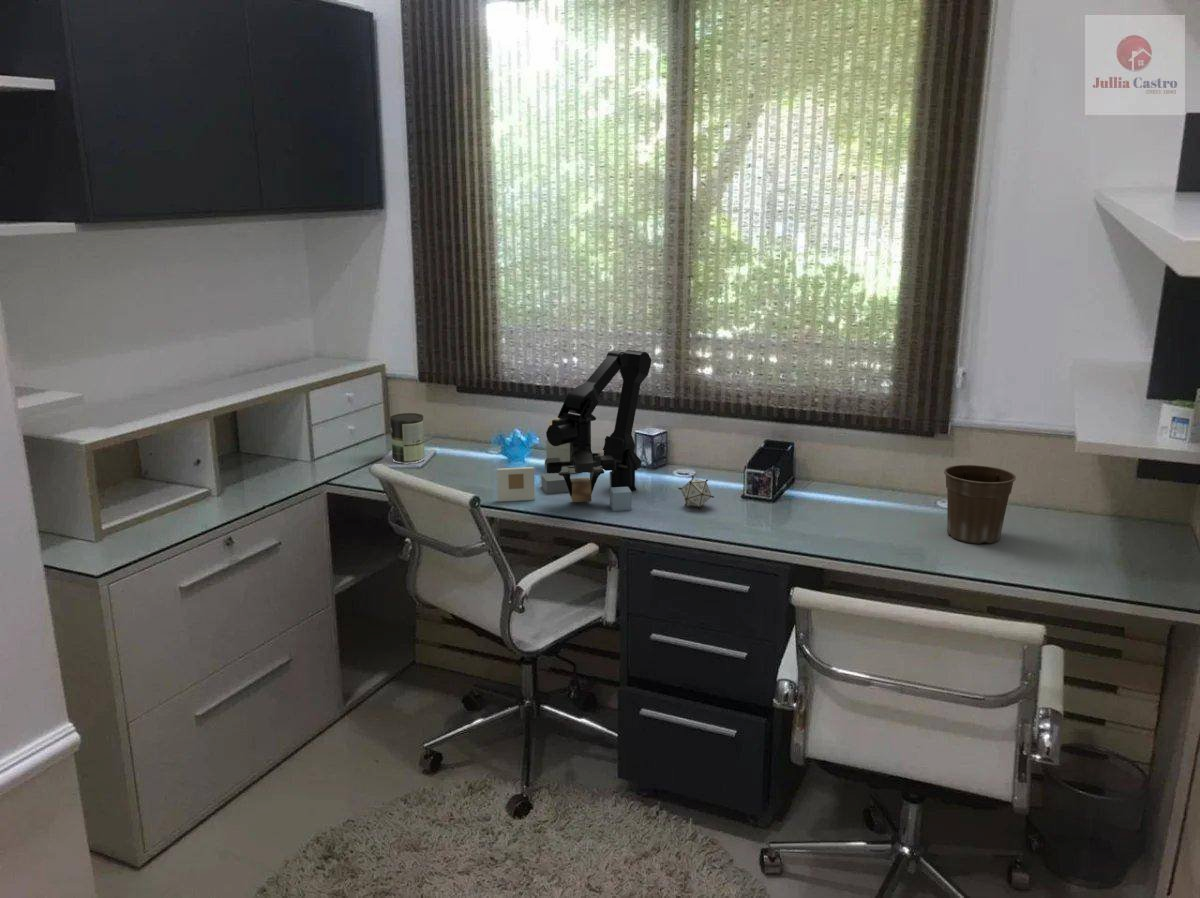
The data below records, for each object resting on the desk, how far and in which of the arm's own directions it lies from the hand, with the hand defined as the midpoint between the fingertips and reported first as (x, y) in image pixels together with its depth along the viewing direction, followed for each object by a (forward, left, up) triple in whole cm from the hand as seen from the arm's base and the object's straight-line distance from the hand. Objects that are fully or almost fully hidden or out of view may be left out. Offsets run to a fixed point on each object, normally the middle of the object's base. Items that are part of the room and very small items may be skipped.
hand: (580, 494), depth 261 cm
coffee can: (+47, -53, -3) cm, 71 cm away
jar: (-1, -35, -3) cm, 35 cm away
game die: (-30, +8, -3) cm, 31 cm away
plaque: (+17, -6, -2) cm, 18 cm away
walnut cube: (0, 0, -1) cm, 1 cm away
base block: (+5, -14, -3) cm, 15 cm away
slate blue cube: (-10, +5, -3) cm, 11 cm away
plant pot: (-91, +42, -3) cm, 100 cm away
